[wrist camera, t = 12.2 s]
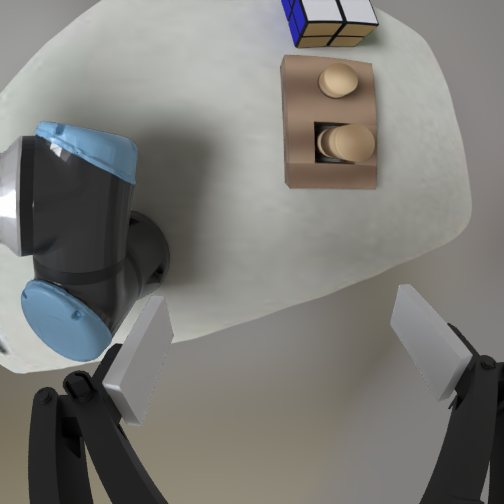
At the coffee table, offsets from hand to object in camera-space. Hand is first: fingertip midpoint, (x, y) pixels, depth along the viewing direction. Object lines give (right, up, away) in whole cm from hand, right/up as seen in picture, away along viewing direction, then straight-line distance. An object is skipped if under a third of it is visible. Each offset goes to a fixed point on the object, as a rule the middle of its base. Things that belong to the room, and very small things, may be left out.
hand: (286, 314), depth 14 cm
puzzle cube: (+8, +39, +16) cm, 43 cm away
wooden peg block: (+9, +22, +22) cm, 32 cm away
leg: (+9, +19, +23) cm, 31 cm away
